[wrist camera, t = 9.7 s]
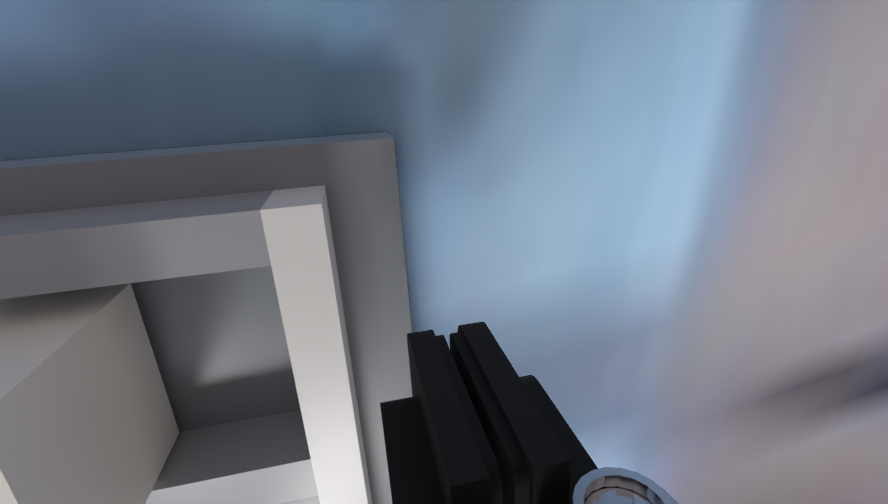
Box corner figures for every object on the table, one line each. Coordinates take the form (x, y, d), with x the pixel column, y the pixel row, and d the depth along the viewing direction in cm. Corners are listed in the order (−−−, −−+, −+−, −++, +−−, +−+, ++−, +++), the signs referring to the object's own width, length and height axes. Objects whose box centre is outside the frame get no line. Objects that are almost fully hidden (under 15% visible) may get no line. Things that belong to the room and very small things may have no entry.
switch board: (386, 131, 13) (404, 146, 9) (425, 532, 18) (446, 644, 15) (-727, 215, 9) (-1494, 303, 5) (-247, 695, 14) (-451, 904, 11)
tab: (130, 282, 10) (-25, 421, 6) (179, 432, 12) (84, 631, 8) (-19, 301, 10) (-309, 469, 5) (52, 455, 11) (-130, 684, 7)
